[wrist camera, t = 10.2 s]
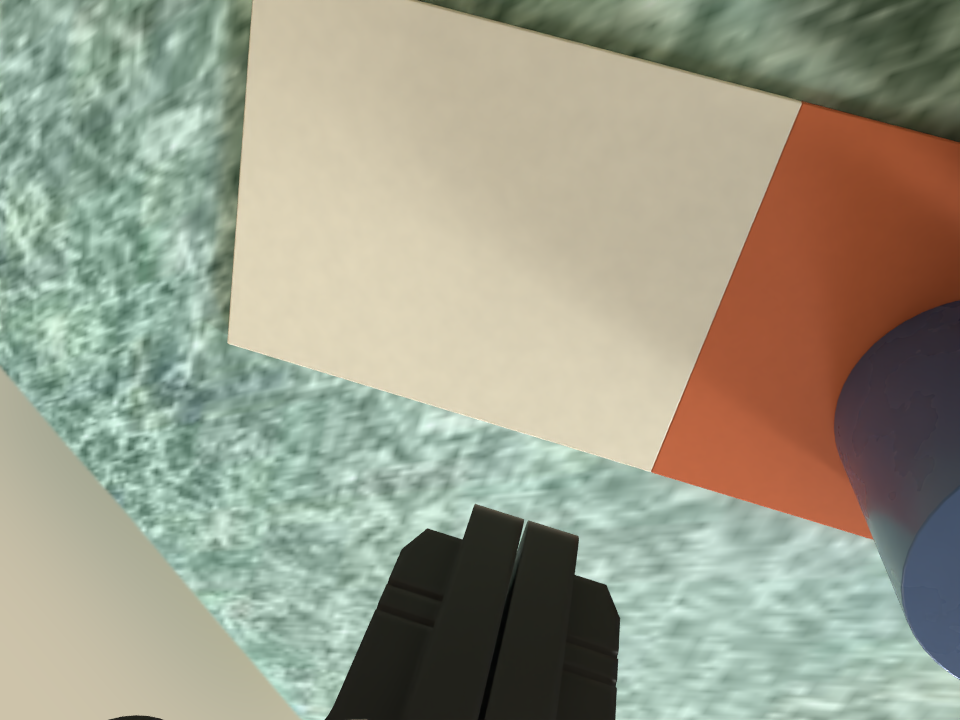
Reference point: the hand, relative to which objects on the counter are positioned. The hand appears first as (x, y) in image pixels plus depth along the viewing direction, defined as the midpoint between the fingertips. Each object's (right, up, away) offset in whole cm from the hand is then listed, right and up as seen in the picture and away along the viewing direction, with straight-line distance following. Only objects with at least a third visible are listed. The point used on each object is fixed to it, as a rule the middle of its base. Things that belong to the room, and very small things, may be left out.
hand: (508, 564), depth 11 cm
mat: (+5, +5, +12) cm, 14 cm away
